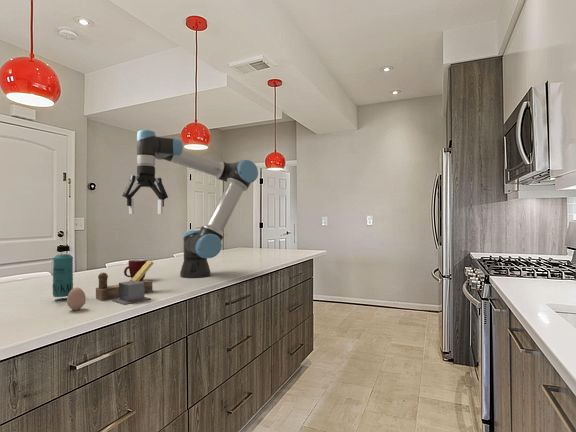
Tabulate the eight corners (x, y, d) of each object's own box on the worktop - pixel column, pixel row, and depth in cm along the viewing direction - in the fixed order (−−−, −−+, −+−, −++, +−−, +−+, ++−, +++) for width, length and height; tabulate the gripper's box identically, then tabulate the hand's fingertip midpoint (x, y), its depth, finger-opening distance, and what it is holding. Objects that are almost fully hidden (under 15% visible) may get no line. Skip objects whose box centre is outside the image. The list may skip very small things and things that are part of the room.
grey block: (144, 299, 131) (144, 282, 131) (128, 302, 126) (128, 285, 126) (134, 296, 136) (134, 280, 136) (118, 299, 131) (118, 282, 131)
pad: (138, 296, 138) (138, 295, 138) (150, 299, 132) (150, 298, 132) (111, 301, 130) (111, 299, 130) (124, 304, 124) (124, 303, 124)
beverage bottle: (54, 298, 134) (54, 245, 134) (74, 296, 137) (74, 244, 137) (50, 302, 128) (50, 246, 128) (72, 300, 131) (71, 245, 131)
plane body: (145, 289, 149) (145, 266, 149) (152, 291, 146) (152, 267, 146) (95, 298, 134) (95, 272, 134) (101, 300, 130) (101, 273, 130)
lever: (131, 282, 144) (148, 262, 150) (136, 284, 141) (154, 263, 147) (129, 281, 143) (146, 260, 149) (134, 282, 141) (152, 261, 146)
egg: (86, 310, 117) (86, 288, 117) (66, 312, 114) (66, 289, 114) (85, 307, 122) (85, 285, 122) (66, 309, 119) (66, 287, 119)
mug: (131, 284, 162) (131, 262, 162) (120, 282, 166) (119, 261, 166) (150, 280, 171) (150, 259, 171) (139, 279, 175) (139, 258, 175)
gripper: (166, 169, 170) (166, 214, 171) (113, 163, 151) (113, 213, 151) (175, 168, 166) (175, 213, 166) (122, 161, 146) (122, 213, 146)
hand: (146, 214), depth 158 cm, fingers open, 13 cm apart
